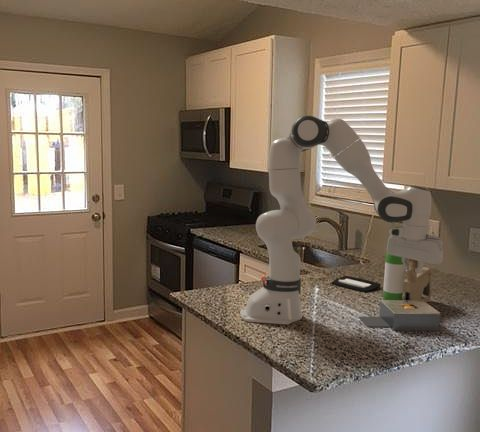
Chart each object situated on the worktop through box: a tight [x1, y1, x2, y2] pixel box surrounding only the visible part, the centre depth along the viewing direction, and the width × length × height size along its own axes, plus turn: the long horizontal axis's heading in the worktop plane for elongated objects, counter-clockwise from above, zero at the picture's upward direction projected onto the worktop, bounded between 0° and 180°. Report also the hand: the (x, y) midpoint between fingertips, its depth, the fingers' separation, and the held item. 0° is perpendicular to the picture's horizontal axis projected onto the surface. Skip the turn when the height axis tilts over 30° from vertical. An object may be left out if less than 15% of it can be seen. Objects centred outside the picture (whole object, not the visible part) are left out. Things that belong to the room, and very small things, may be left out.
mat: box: [358, 315, 390, 328], centre depth 185 cm, size 8×10×1 cm
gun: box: [402, 266, 433, 303], centre depth 204 cm, size 24×3×15 cm, turn 141°
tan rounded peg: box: [406, 259, 419, 283], centre depth 183 cm, size 3×3×8 cm
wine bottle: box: [382, 226, 406, 300], centre depth 212 cm, size 8×8×30 cm
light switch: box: [330, 275, 382, 294], centre depth 233 cm, size 20×3×14 cm
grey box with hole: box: [378, 299, 441, 332], centre depth 185 cm, size 16×14×6 cm
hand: (412, 271), depth 183 cm, fingers closed on tan rounded peg, 3 cm apart
